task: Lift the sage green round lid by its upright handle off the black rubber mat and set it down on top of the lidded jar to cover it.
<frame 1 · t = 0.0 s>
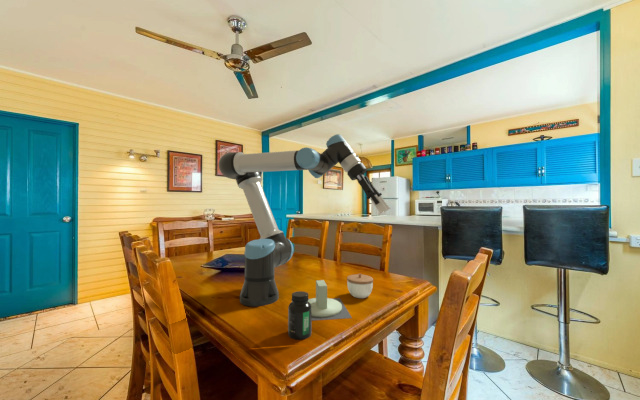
hand: (385, 210, 100), 36 cm above the table, tool tilted 35°, fingers open, 13 cm apart
supplement bottle: (299, 335, 75), on the table
lid: (321, 308, 94), resting on mat
lidded jar: (359, 296, 107), on the table
mat: (321, 309, 94), on the table
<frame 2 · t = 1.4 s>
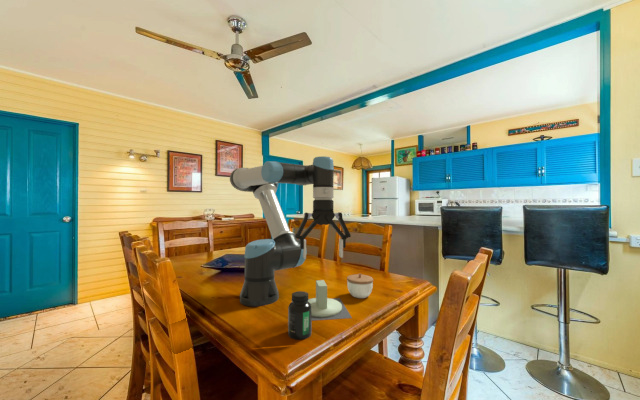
hand: (323, 257, 94), 19 cm above the table, tool pointing down, fingers open, 13 cm apart
nothing on the table moved.
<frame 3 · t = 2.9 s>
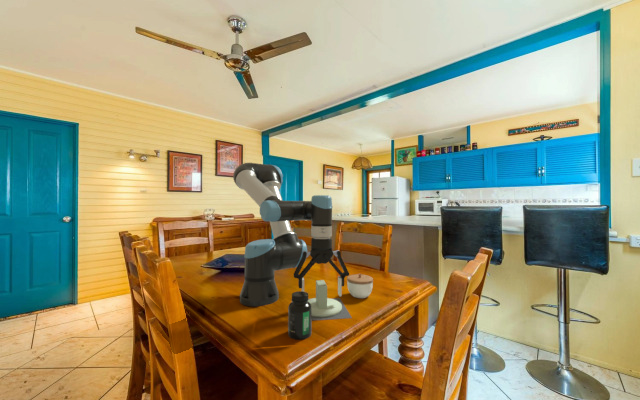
hand: (321, 296, 94), 5 cm above the table, tool pointing down, fingers open, 13 cm apart
nothing on the table moved.
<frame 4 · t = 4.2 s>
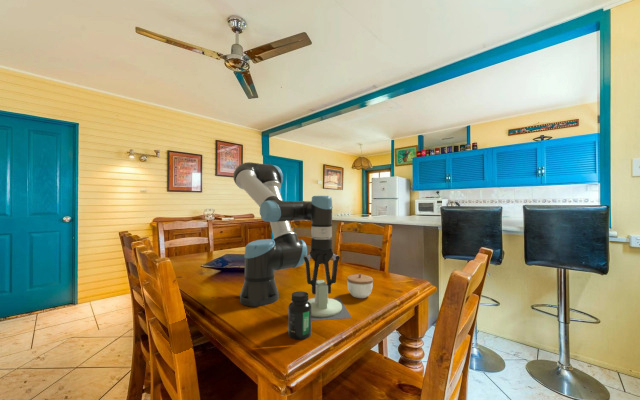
hand: (321, 302, 94), 3 cm above the table, tool pointing down, fingers closed on lid, 3 cm apart
lid: (321, 308, 94), resting on mat, touching gripper
everything else where it was.
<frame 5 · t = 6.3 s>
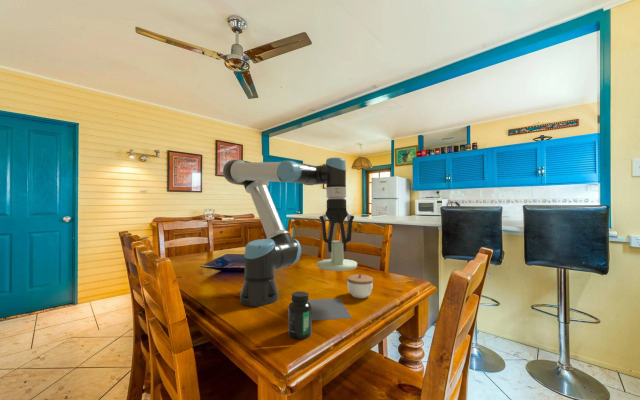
hand: (337, 260, 98), 17 cm above the table, tool pointing down, fingers closed on lid, 3 cm apart
lid: (337, 266, 98), point 15 cm above the table, touching gripper
everything else where it was.
when the fingers open (13 cm above the table, at t = 8.3 s): lid drops 2 cm, resting on lidded jar.
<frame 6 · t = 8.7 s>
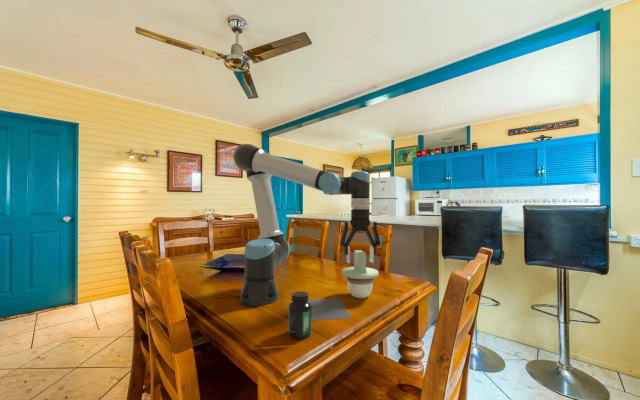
hand: (360, 262, 107), 14 cm above the table, tool pointing down, fingers open, 9 cm apart
lid: (359, 273, 107), point 9 cm above the table, touching lidded jar
lidded jar: (359, 296, 107), on the table, touching lid
everything else where it was.
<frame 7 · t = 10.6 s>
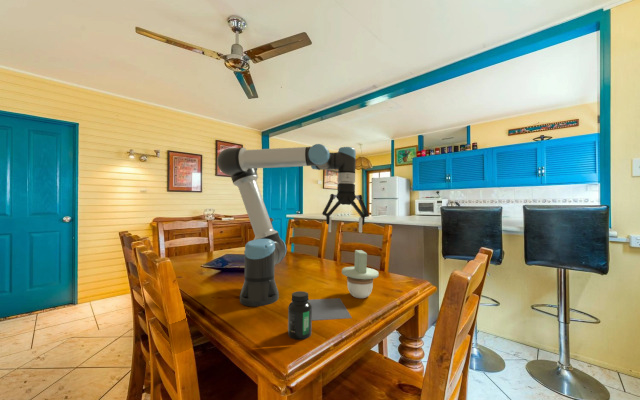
hand: (345, 232, 112), 26 cm above the table, tool pointing down, fingers open, 13 cm apart
nothing on the table moved.
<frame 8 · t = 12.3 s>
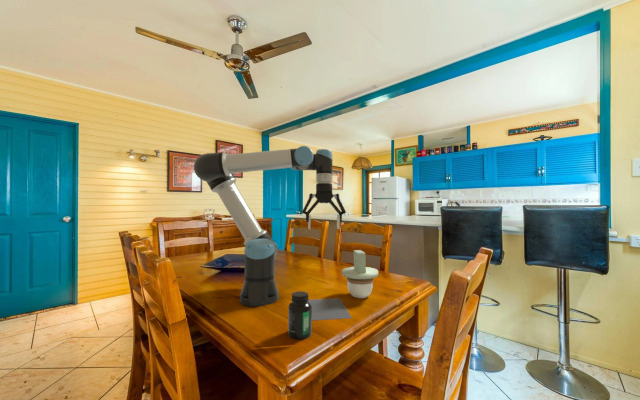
hand: (323, 229, 119), 27 cm above the table, tool pointing down, fingers open, 13 cm apart
nothing on the table moved.
at the end: lid 0.1 cm from the lidded jar (horizontally); lid point 9.4 cm above the table; lid tilted 3° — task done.
